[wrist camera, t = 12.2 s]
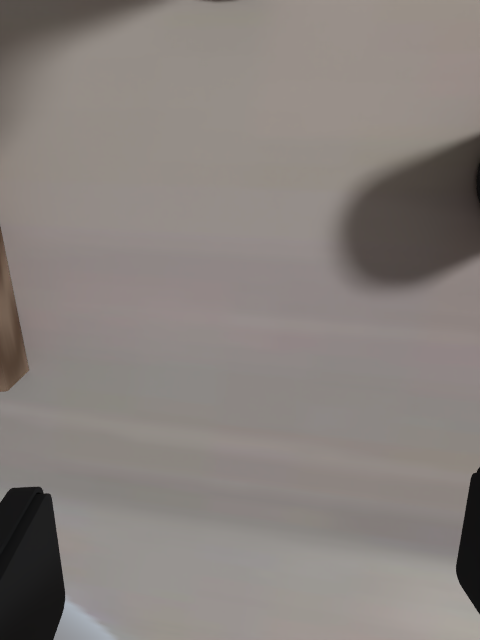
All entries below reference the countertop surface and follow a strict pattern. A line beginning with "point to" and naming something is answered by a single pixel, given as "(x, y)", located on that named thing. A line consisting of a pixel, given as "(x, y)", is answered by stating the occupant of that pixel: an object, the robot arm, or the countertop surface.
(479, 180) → the pen holder
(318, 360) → the countertop surface
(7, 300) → the walnut plinth
